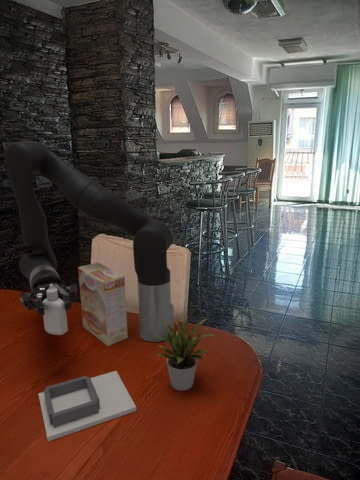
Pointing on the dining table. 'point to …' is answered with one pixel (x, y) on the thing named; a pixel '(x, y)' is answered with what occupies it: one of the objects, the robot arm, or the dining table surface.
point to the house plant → (182, 354)
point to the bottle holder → (83, 403)
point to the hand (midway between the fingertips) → (55, 308)
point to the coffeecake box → (103, 302)
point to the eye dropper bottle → (54, 313)
